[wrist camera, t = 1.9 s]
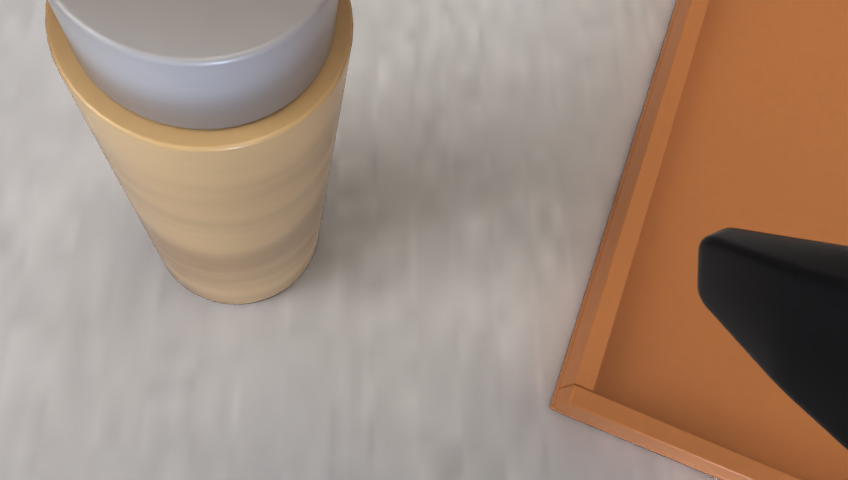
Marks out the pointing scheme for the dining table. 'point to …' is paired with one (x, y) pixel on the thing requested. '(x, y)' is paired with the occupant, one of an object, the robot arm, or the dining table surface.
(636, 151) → the tray
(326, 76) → the disc
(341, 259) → the dining table surface
